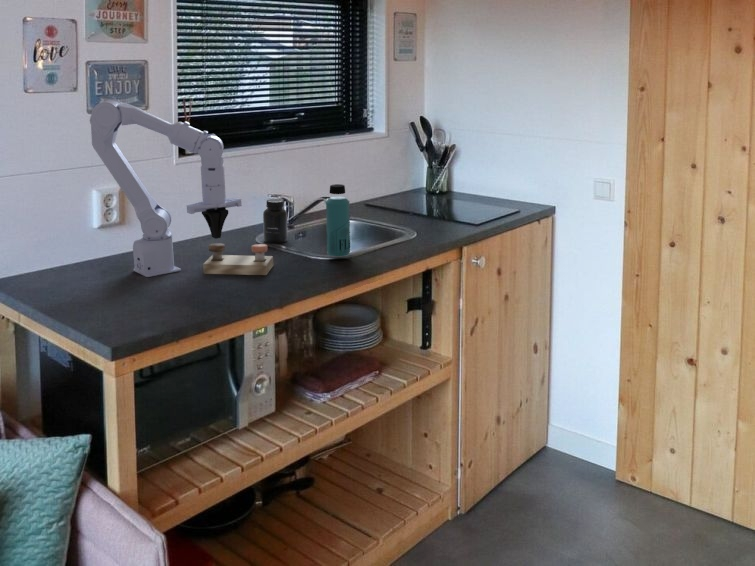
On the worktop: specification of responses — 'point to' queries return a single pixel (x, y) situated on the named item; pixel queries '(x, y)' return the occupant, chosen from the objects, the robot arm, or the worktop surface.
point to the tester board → (238, 265)
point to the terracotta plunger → (259, 251)
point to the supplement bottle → (275, 222)
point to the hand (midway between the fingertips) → (216, 237)
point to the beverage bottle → (338, 223)
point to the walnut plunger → (217, 250)
